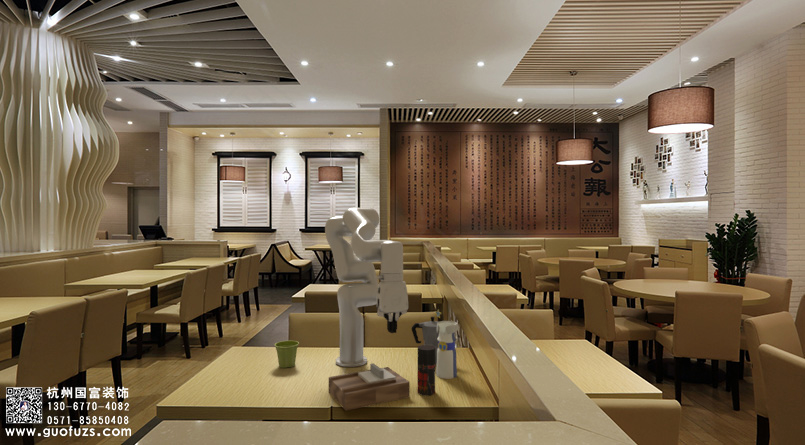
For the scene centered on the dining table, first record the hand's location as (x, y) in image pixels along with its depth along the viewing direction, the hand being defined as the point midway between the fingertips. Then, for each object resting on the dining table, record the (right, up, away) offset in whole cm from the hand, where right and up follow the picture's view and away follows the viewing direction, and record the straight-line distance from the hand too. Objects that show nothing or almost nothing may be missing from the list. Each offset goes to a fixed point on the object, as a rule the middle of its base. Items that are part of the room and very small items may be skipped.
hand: (392, 332), depth 150 cm
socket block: (-8, -20, -3) cm, 21 cm away
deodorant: (+11, -20, -1) cm, 23 cm away
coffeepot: (+15, -20, +31) cm, 40 cm away
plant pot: (-42, -20, +25) cm, 53 cm away
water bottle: (+20, -20, +15) cm, 32 cm away
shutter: (-5, -15, -2) cm, 16 cm away
